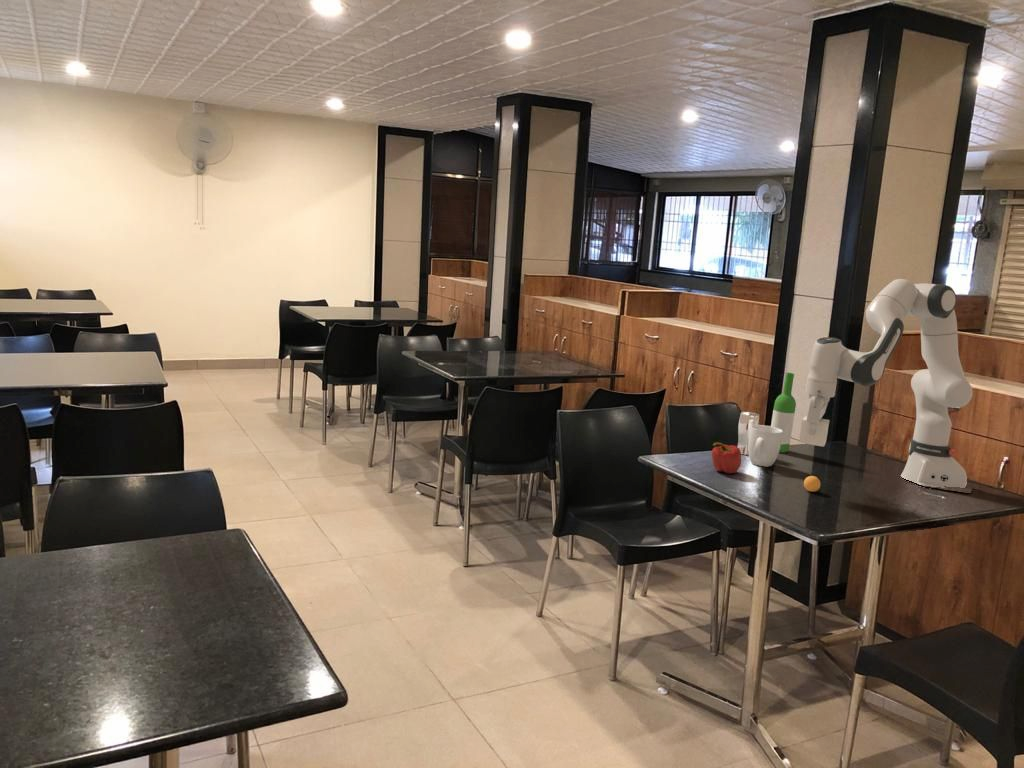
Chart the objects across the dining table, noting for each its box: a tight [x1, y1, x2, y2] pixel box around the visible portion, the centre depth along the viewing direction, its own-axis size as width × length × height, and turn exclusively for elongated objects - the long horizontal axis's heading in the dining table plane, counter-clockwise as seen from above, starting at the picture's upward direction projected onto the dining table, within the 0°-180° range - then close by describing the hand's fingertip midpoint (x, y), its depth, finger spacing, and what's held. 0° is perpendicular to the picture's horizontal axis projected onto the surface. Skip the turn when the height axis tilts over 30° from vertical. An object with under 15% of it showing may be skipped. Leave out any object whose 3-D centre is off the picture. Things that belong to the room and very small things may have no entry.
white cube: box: [798, 415, 830, 448], centre depth 259 cm, size 7×7×7 cm
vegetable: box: [711, 442, 742, 474], centre depth 274 cm, size 11×10×10 cm
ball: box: [803, 475, 821, 493], centre depth 261 cm, size 5×5×5 cm
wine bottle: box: [770, 372, 797, 454], centre depth 310 cm, size 8×8×30 cm
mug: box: [748, 424, 783, 468], centre depth 286 cm, size 15×11×13 cm
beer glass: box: [736, 411, 760, 456], centre depth 302 cm, size 7×7×15 cm
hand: (813, 431), depth 259 cm, fingers closed on white cube, 7 cm apart
